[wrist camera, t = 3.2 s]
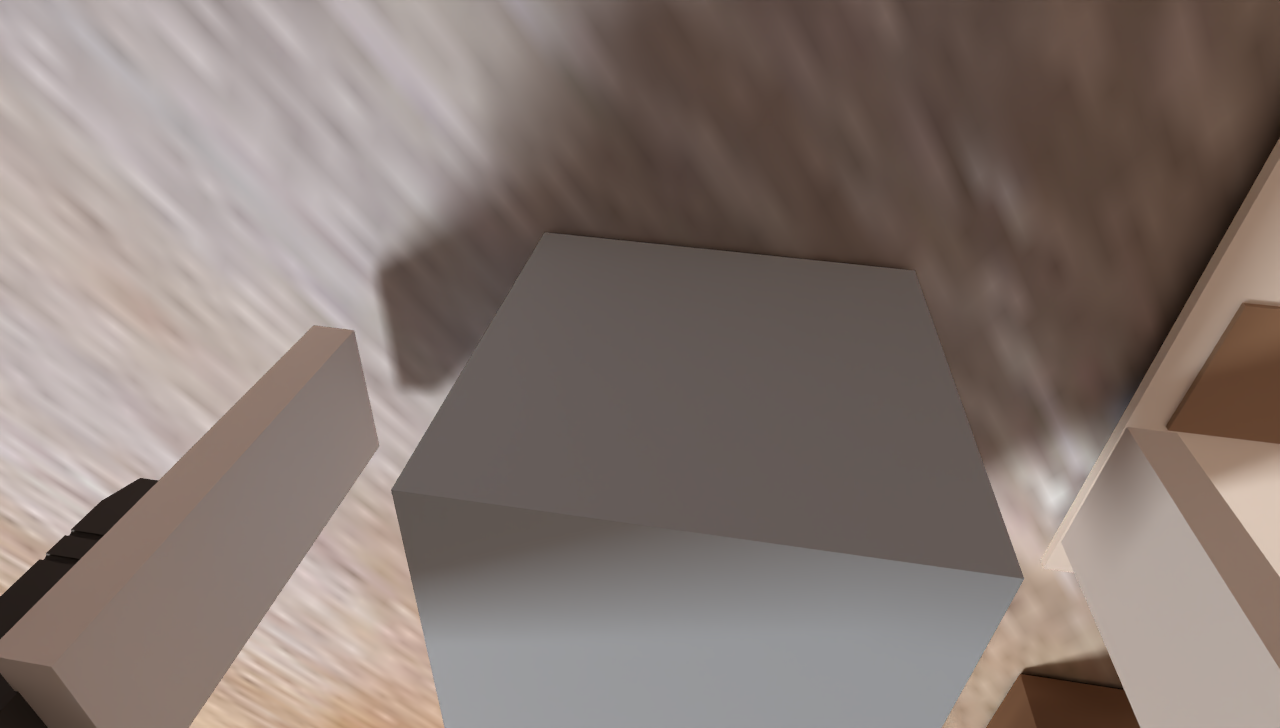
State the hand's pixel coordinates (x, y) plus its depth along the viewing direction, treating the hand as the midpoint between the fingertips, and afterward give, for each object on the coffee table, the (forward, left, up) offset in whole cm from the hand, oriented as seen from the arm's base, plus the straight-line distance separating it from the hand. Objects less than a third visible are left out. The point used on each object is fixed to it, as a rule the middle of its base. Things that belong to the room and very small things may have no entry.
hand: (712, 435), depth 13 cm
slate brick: (0, 0, -1) cm, 1 cm away
